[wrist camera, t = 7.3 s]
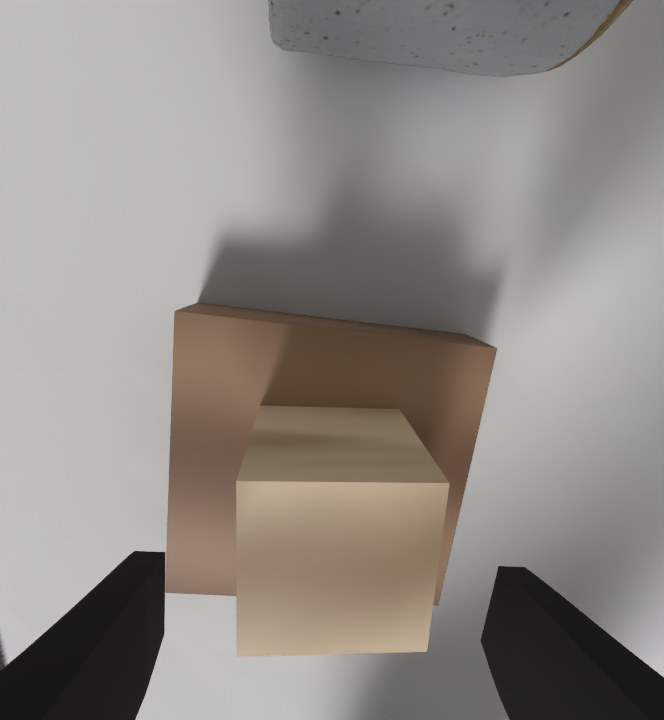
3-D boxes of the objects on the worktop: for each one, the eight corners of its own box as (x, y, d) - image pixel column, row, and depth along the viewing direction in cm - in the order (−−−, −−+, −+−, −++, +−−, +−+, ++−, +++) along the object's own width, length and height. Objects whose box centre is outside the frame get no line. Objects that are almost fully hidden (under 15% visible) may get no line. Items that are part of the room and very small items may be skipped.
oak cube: (387, 529, 14) (426, 651, 9) (258, 529, 13) (236, 657, 9) (399, 409, 13) (449, 483, 8) (260, 405, 12) (236, 481, 8)
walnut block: (416, 549, 18) (437, 605, 15) (189, 535, 17) (165, 592, 14) (460, 332, 15) (496, 348, 12) (200, 301, 14) (174, 311, 11)
